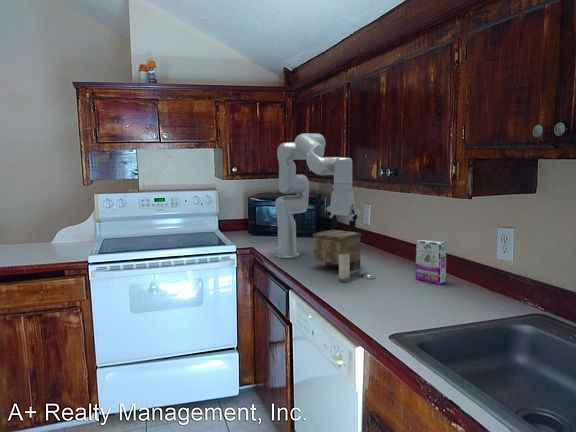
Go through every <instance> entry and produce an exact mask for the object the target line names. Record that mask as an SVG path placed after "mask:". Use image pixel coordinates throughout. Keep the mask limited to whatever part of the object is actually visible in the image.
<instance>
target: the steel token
mask: <svg viewBox="0 0 576 432" xmlns="http://www.w3.org/2000/svg"><path fill="white" fill-rule="evenodd" d="M362 279H364V280H374V279H376V273H375V274H374V273H372V272H371V273H366V274H363V277H362Z"/></svg>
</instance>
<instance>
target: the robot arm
mask: <svg viewBox="0 0 576 432" xmlns="http://www.w3.org/2000/svg"><path fill="white" fill-rule="evenodd" d="M325 148H326V139H325V137H324V136H323V134H320V133H309V132H308V133H306V132H305V133H299V135H297V136H296V137H295V139H294V141H292V142H283V143H280V145H279V146H278V148H277V152H276V155H277V156H276V157H277V160H278V169H279V170H278V190H279V192H280V193H282V194H285V195H283V196H279V197H277V198H276V199H275V202H274V207H275V212H276V213H275V214H276V220H277V246H275V247H274V251H276V253H275V257H276V258H280V259H294V258H298V257H300V252H298V251H297V224H296V222H297V221H296V220H295V219H294V217H293V216H292V215H293V214H302V213H305V212H307V210H308V208H309V196H310V195H309V194H310V184H309V179H308V177H307V176H306V175H305V174H297V173H296V172H297V166H296V163H295V162H294V161H295V160H296V161H297V160H306V165H307V168H308V169H309V170H310V171H311V172H313V173H314V175H315V174H316V175H318V176H333V184H332V188H333V190H332V191H331V195H330V205H328V206H327V207H326V211H327V215H328V217H329V218H330V228H331V229H334V228H338V217H337V216H341V217H348V218H349V221H348V222H349V224H348V226H349V227H348V228H349V230H348V231H349V232H353V231H355V230H356V225H357V224H356V221H357V220H358V218H359V217H360V214H361V212H362V210H361V209H359V208H358V207H357V206H356V200H355V194H354V190H353V160H352V158H351V157H341V156H324V154H325V150H326V149H325ZM286 194H296V195H286Z"/></svg>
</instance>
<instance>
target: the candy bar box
mask: <svg viewBox="0 0 576 432" xmlns="http://www.w3.org/2000/svg"><path fill="white" fill-rule="evenodd" d="M415 280H417V281H421V282H425V283H430V284H435V285H443V284H445V283H447V281H446V280H447V242H445V241H437V240H430V239H419V240H415Z"/></svg>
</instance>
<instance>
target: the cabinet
mask: <svg viewBox="0 0 576 432" xmlns="http://www.w3.org/2000/svg"><path fill="white" fill-rule="evenodd" d="M361 236H362V233H361V232H355V231H349V230H348V231H346V230H339V229H330V230H325V231H324V230H323V231H319V232H315V233H312V255H313V256H312V257H313V259H312V260H314V261H317V262H318V261H319V262H322V263H326V265H327V266H333V267H337V268H339V254H342V253H349V254H350V271H351V270H352V271H355V270H358V269H361Z"/></svg>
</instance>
